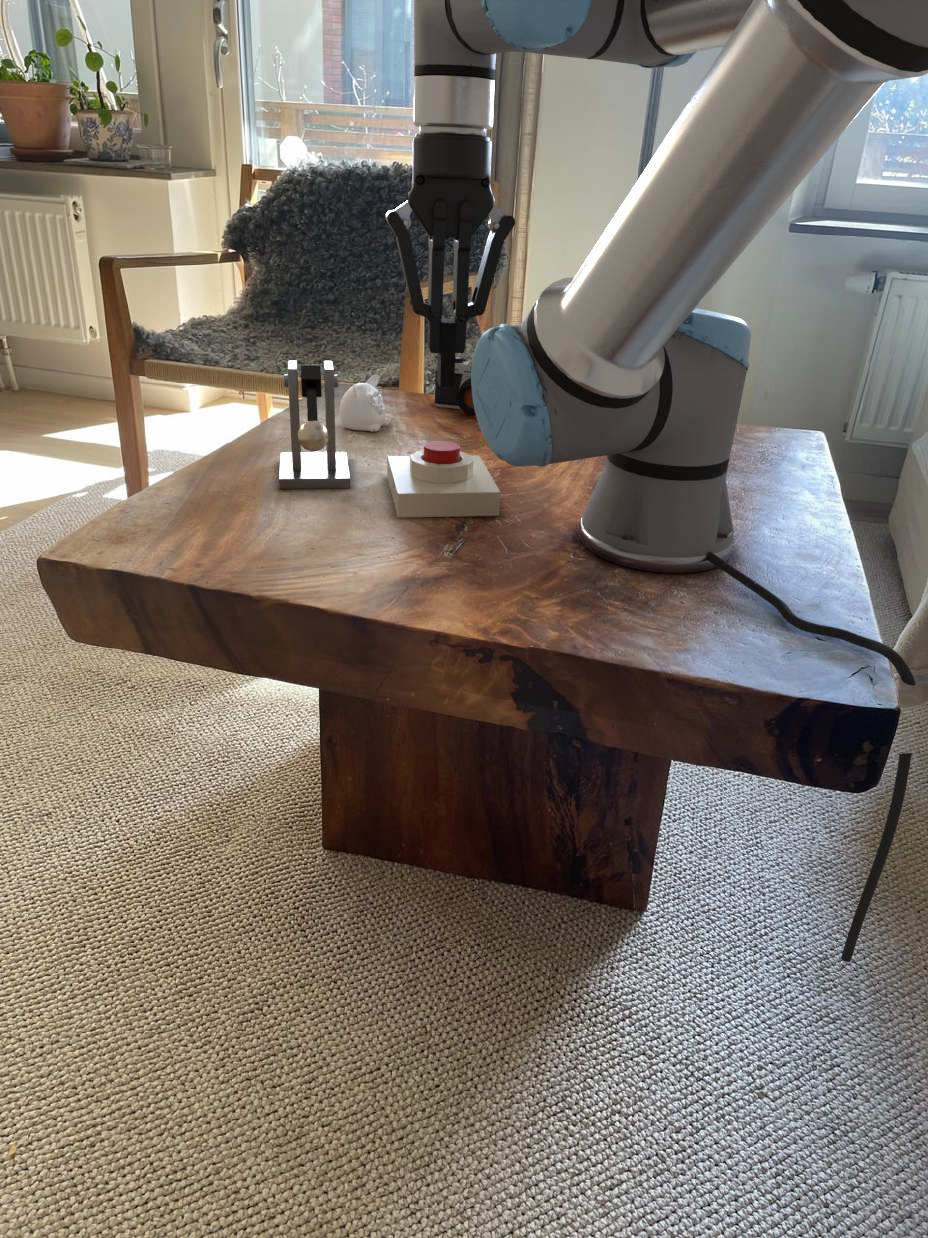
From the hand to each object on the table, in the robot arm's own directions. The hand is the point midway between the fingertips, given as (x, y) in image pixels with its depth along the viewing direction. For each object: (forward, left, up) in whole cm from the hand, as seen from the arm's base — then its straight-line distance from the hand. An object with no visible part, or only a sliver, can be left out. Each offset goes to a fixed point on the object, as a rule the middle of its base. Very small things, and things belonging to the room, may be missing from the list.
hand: (445, 383), depth 95 cm
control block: (0, 0, -13) cm, 13 cm away
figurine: (+29, +7, -13) cm, 33 cm away
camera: (+37, -10, -13) cm, 41 cm away
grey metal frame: (+8, +14, -13) cm, 21 cm away
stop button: (0, 0, -9) cm, 9 cm away
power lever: (+4, +14, -5) cm, 15 cm away
